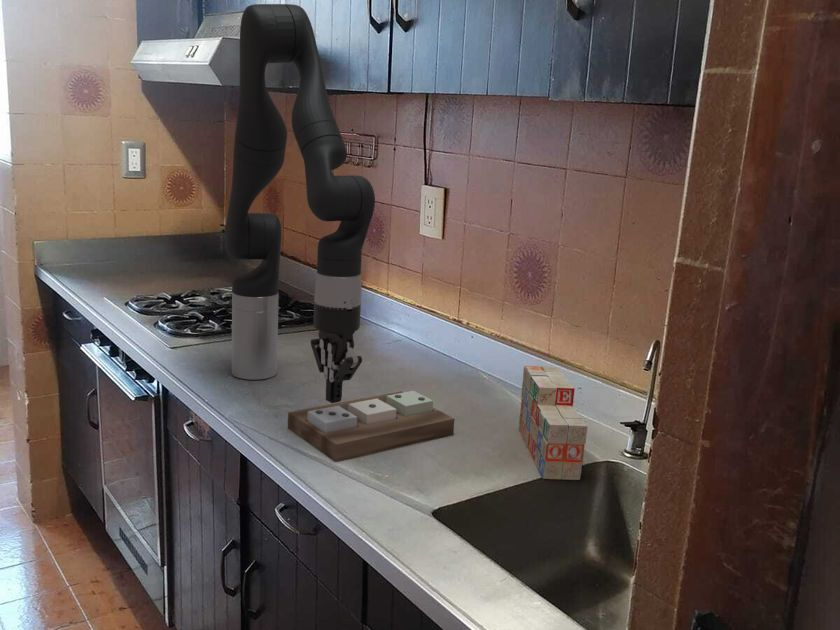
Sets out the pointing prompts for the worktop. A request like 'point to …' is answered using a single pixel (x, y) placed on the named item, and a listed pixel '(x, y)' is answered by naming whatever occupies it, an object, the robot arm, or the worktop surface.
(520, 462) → the worktop surface
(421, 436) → the key panel
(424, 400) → the key
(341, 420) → the key
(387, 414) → the key
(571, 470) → the stack of blocks
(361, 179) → the robot arm
